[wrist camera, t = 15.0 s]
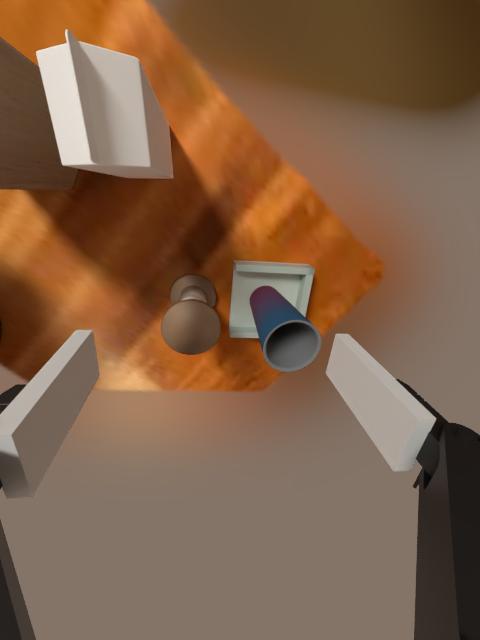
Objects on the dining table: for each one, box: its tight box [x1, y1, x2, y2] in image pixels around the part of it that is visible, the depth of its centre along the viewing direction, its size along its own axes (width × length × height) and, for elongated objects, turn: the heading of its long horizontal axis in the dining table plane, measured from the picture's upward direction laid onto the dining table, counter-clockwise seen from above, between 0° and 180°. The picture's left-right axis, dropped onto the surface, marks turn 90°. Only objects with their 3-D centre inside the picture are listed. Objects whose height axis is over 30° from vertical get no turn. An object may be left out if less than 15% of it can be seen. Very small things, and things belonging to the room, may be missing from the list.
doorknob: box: [161, 274, 221, 355], centre depth 38 cm, size 7×7×12 cm
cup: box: [250, 286, 321, 372], centre depth 38 cm, size 7×7×15 cm
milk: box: [36, 29, 174, 179], centre depth 25 cm, size 6×6×22 cm
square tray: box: [229, 260, 315, 338], centre depth 44 cm, size 12×12×3 cm
